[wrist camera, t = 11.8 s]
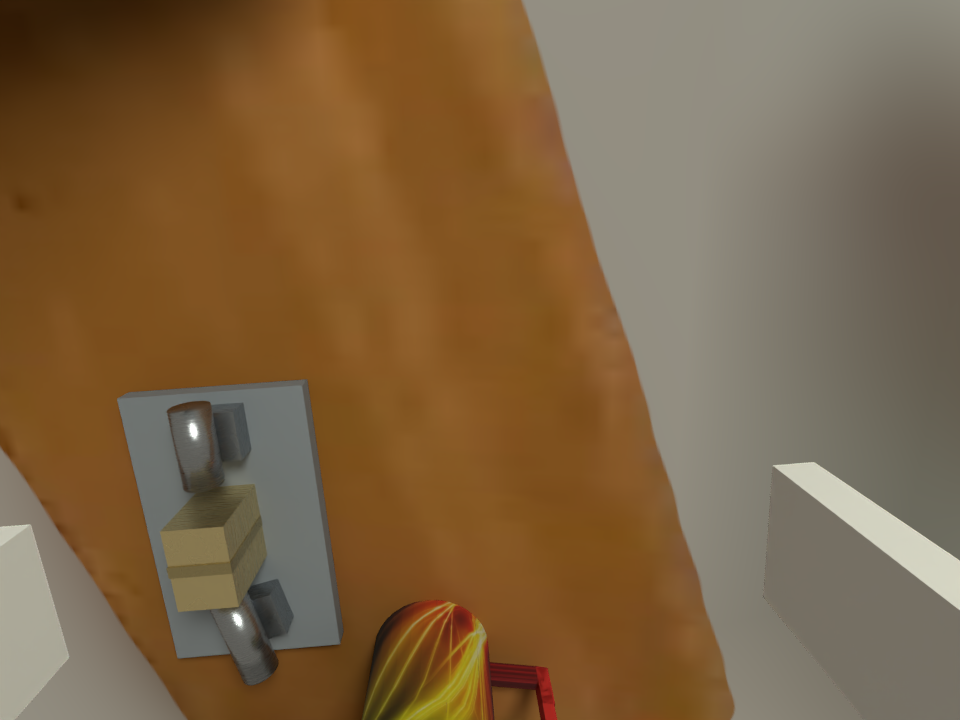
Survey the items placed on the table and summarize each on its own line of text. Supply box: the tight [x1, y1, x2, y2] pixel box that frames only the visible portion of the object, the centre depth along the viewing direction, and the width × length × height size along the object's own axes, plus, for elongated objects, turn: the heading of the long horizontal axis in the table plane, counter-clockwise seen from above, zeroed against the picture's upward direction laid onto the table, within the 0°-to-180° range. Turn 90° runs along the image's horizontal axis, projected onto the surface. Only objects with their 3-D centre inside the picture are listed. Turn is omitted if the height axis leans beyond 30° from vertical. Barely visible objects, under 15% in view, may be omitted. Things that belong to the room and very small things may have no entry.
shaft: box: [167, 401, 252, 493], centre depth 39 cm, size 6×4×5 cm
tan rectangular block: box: [160, 484, 267, 612], centre depth 40 cm, size 6×4×6 cm
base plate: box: [117, 380, 343, 658], centre depth 44 cm, size 22×13×2 cm, turn 4°
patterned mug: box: [362, 600, 557, 720], centre depth 42 cm, size 10×14×12 cm
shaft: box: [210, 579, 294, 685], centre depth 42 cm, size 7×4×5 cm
